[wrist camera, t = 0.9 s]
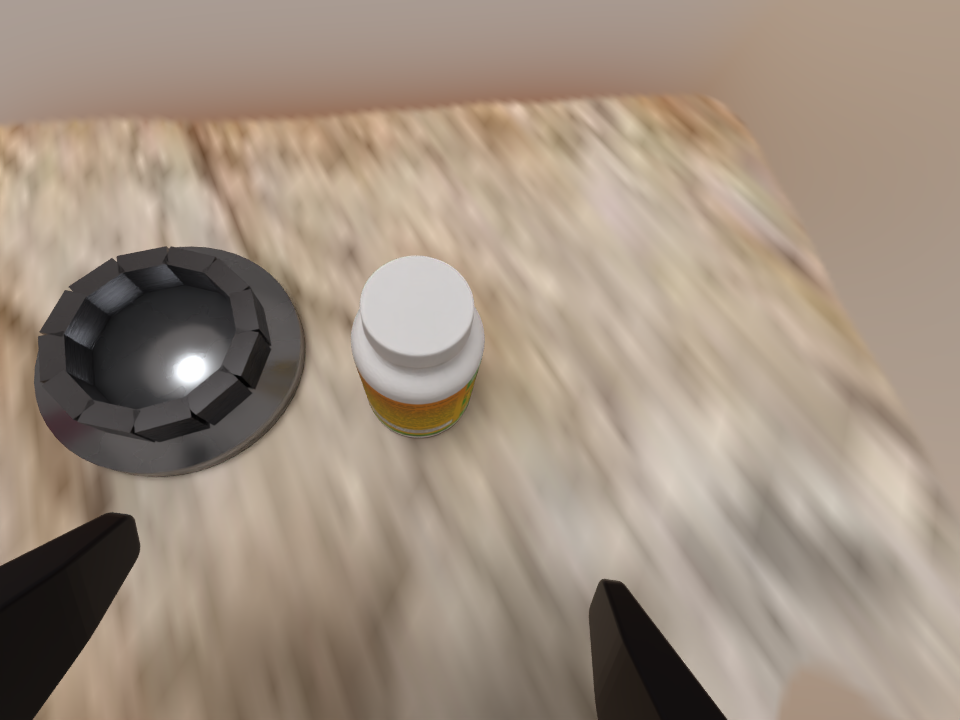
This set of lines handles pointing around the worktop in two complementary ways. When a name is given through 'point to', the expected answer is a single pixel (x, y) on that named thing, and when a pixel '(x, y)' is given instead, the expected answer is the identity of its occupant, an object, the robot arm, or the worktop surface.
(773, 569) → the worktop surface
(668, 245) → the worktop surface
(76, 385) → the collar holder
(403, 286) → the supplement bottle
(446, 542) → the worktop surface
